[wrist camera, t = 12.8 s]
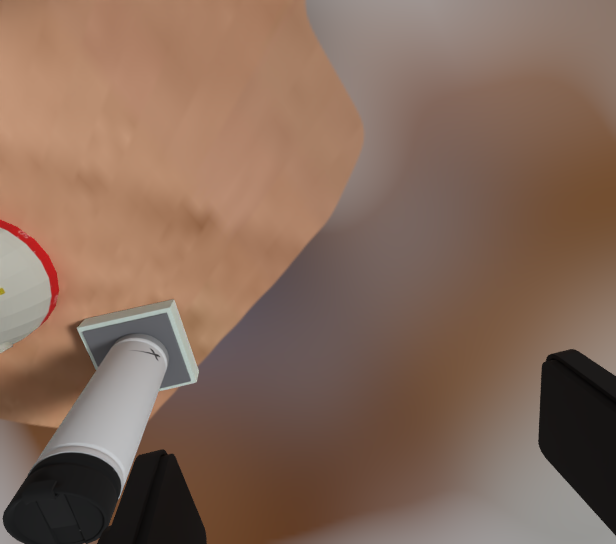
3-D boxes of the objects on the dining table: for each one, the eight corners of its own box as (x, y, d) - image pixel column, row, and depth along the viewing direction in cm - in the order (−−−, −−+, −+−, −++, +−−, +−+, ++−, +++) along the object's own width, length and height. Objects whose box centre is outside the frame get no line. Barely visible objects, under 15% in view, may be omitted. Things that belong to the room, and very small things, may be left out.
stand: (85, 318, 43) (75, 329, 41) (174, 299, 43) (169, 308, 41) (117, 390, 46) (110, 404, 44) (198, 371, 47) (196, 383, 45)
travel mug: (162, 326, 42) (89, 482, 23) (174, 376, 44) (116, 555, 25) (102, 333, 41) (-22, 499, 22) (117, 384, 43) (15, 573, 25)
